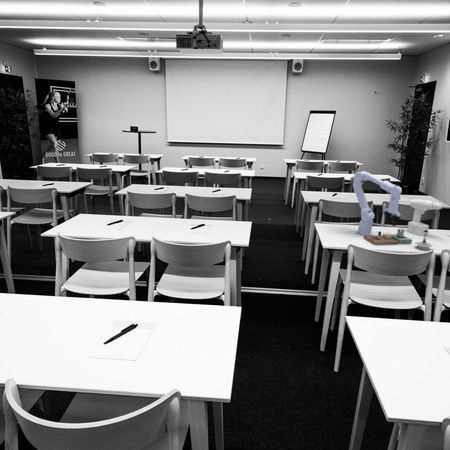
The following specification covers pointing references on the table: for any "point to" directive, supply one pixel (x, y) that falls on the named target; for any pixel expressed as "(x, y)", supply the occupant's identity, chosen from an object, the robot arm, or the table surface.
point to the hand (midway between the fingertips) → (390, 224)
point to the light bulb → (423, 244)
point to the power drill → (419, 209)
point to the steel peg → (400, 233)
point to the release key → (387, 236)
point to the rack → (401, 239)
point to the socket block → (380, 240)
